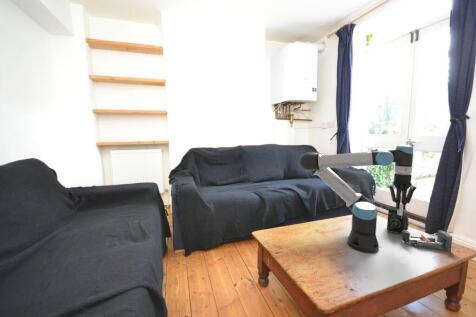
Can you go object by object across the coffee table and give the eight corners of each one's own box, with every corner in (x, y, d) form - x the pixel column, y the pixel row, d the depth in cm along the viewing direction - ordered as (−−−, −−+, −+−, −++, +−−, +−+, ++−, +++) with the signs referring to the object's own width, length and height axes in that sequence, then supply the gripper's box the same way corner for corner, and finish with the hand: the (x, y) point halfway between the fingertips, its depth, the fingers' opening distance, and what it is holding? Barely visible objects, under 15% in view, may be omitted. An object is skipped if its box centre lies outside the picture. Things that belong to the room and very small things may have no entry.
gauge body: (414, 247, 116) (416, 233, 115) (408, 240, 122) (409, 227, 121) (450, 251, 111) (452, 236, 110) (442, 244, 118) (443, 230, 117)
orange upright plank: (426, 246, 114) (427, 240, 114) (419, 240, 121) (419, 234, 120) (430, 246, 114) (430, 240, 113) (422, 240, 120) (423, 234, 120)
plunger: (404, 242, 118) (405, 232, 117) (401, 239, 122) (402, 229, 121) (422, 244, 116) (422, 234, 115) (418, 241, 119) (419, 231, 119)
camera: (407, 237, 127) (409, 213, 125) (386, 232, 133) (388, 209, 131) (407, 230, 135) (409, 208, 133) (387, 226, 141) (388, 204, 140)
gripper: (392, 174, 114) (389, 216, 117) (420, 175, 111) (417, 218, 113) (386, 171, 121) (383, 211, 124) (413, 172, 118) (409, 213, 121)
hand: (399, 214), depth 119 cm, fingers closed
